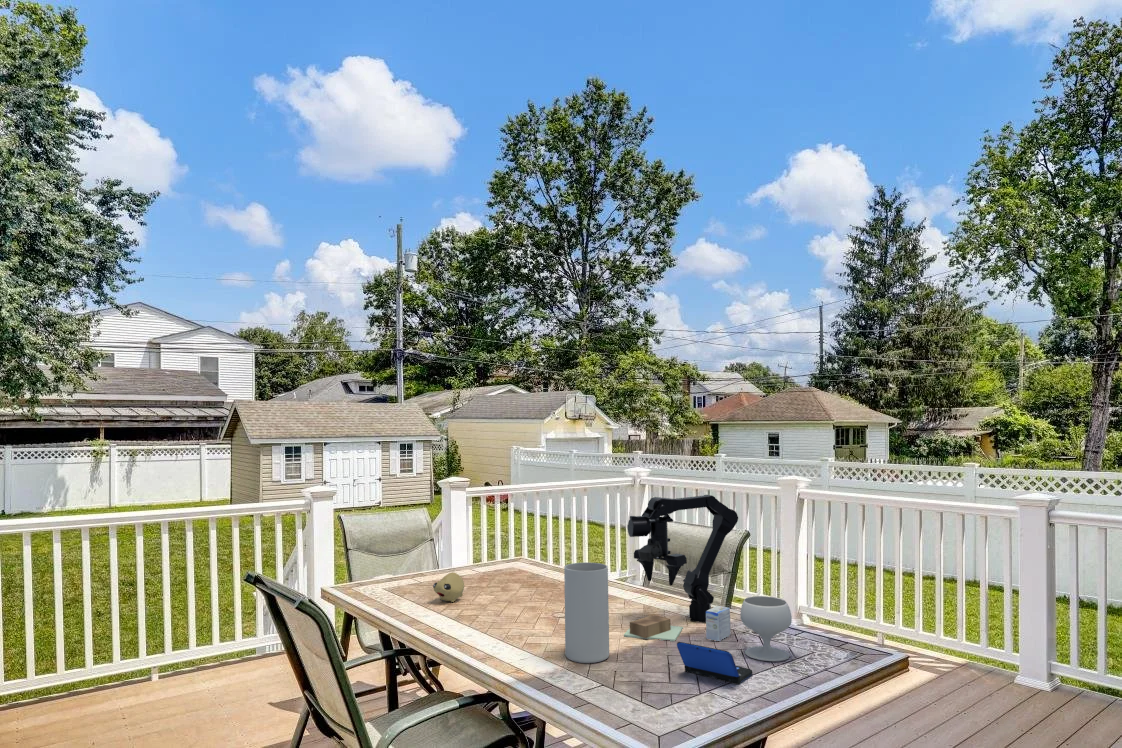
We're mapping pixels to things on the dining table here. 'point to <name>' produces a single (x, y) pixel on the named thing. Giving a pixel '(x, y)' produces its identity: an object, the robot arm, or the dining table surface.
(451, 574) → the olive toy creature
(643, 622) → the walnut slab
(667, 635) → the mat
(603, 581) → the cylinder vase
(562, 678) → the dining table surface
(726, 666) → the handheld game console
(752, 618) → the chalice
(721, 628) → the medicine box
